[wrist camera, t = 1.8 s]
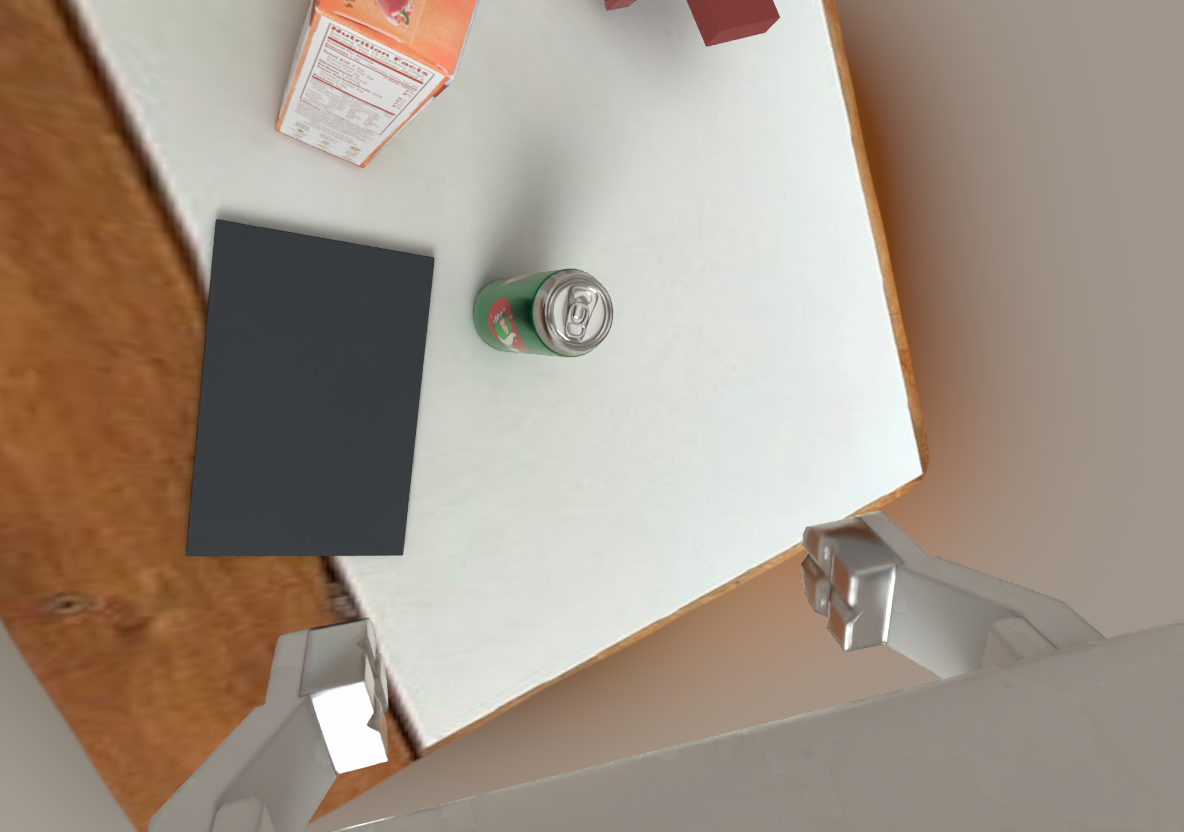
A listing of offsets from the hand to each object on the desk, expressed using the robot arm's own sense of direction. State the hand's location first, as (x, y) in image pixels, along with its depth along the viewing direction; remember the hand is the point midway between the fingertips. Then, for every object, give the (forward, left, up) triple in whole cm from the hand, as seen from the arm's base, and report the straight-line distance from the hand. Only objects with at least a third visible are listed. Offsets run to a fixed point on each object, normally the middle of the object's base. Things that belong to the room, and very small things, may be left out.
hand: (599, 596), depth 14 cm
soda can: (-7, +12, -40) cm, 42 cm away
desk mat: (0, 0, -39) cm, 39 cm away
